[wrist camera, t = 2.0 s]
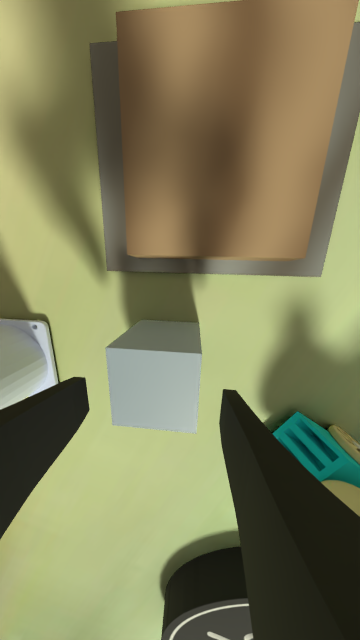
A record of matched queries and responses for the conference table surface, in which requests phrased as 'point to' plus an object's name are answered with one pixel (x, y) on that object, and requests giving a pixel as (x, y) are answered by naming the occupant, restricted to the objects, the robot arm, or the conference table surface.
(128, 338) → the block
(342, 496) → the toy train
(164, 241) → the base block
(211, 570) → the wall sign
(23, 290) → the conference table surface
